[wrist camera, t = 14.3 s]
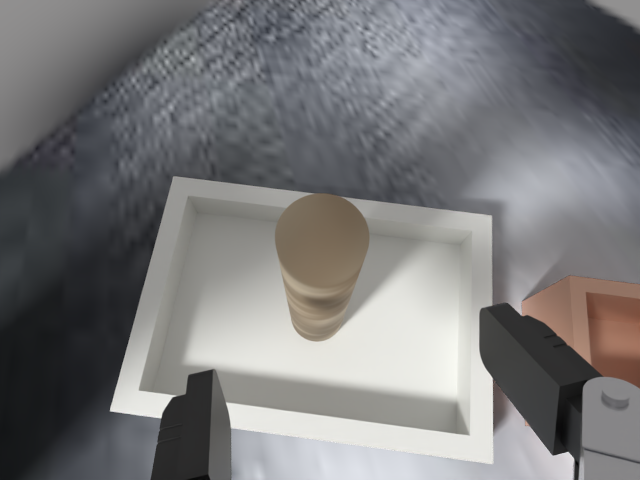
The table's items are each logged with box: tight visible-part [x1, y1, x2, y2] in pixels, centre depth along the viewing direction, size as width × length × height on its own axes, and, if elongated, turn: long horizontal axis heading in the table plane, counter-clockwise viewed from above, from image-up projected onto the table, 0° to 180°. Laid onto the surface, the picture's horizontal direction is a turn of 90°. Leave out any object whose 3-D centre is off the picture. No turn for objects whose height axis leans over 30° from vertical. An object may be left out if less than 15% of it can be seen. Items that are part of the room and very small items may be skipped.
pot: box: [522, 275, 640, 426], centre depth 26 cm, size 8×8×6 cm
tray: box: [110, 176, 493, 464], centre depth 28 cm, size 20×14×4 cm
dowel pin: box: [275, 193, 370, 342], centre depth 22 cm, size 3×3×14 cm
